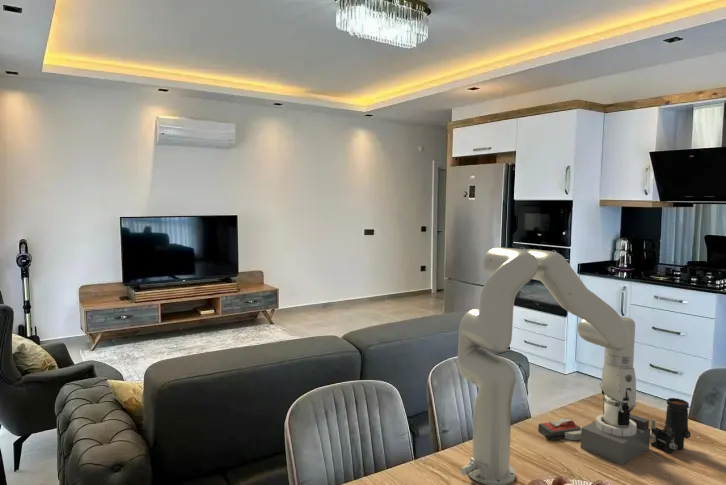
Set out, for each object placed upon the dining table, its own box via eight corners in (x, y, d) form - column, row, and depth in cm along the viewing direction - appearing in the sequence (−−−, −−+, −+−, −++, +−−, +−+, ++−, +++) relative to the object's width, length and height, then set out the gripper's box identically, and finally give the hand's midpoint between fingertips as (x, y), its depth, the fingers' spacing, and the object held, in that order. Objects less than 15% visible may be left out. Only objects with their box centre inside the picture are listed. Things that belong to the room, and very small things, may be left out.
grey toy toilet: (621, 464, 137) (623, 435, 136) (580, 447, 146) (581, 419, 146) (649, 448, 146) (650, 420, 145) (609, 433, 156) (610, 407, 155)
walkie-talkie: (550, 445, 149) (606, 437, 154) (551, 430, 148) (607, 423, 153) (533, 432, 157) (587, 425, 162) (533, 418, 157) (587, 412, 162)
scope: (650, 399, 147) (673, 394, 151) (647, 444, 148) (671, 438, 152) (676, 409, 140) (700, 404, 144) (674, 457, 141) (697, 450, 145)
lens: (632, 432, 143) (634, 401, 142) (611, 433, 142) (613, 402, 141) (619, 422, 149) (620, 393, 148) (598, 423, 148) (600, 393, 148)
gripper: (651, 369, 136) (647, 432, 137) (613, 350, 153) (610, 407, 154) (625, 369, 135) (621, 433, 136) (589, 351, 152) (587, 408, 154)
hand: (615, 419), depth 145 cm, fingers closed on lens, 6 cm apart
